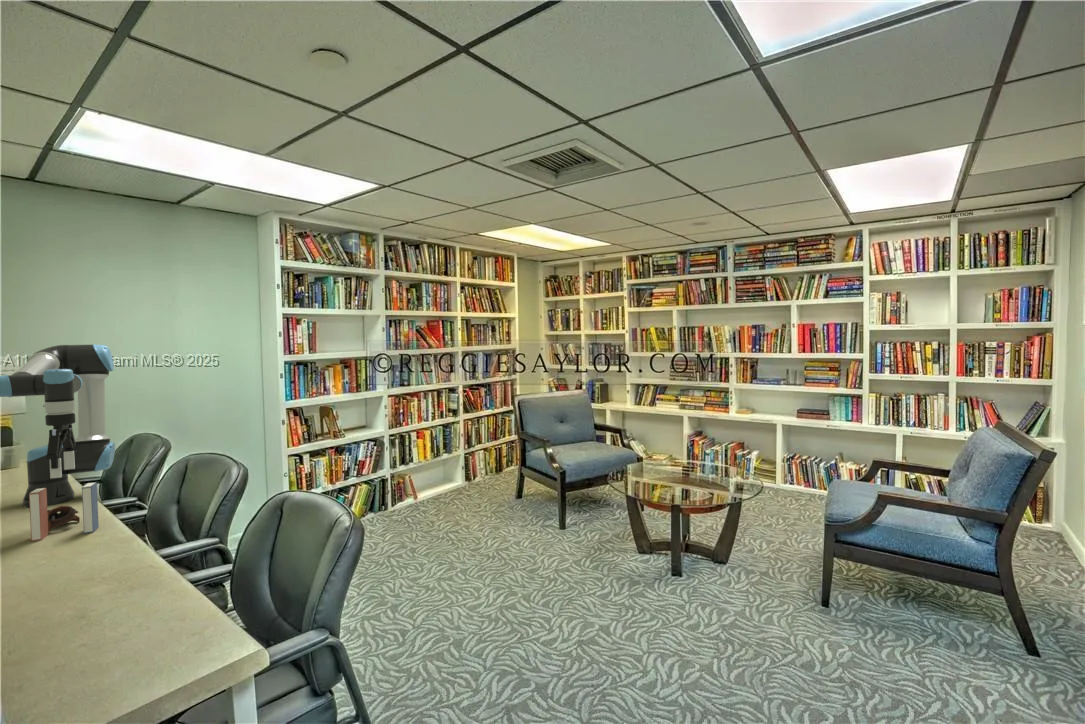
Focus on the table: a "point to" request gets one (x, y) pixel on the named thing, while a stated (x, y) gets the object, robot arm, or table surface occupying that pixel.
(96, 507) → the navy book
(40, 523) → the brick red book
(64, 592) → the table surface
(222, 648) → the table surface
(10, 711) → the table surface
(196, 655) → the table surface
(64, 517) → the pottery mug
